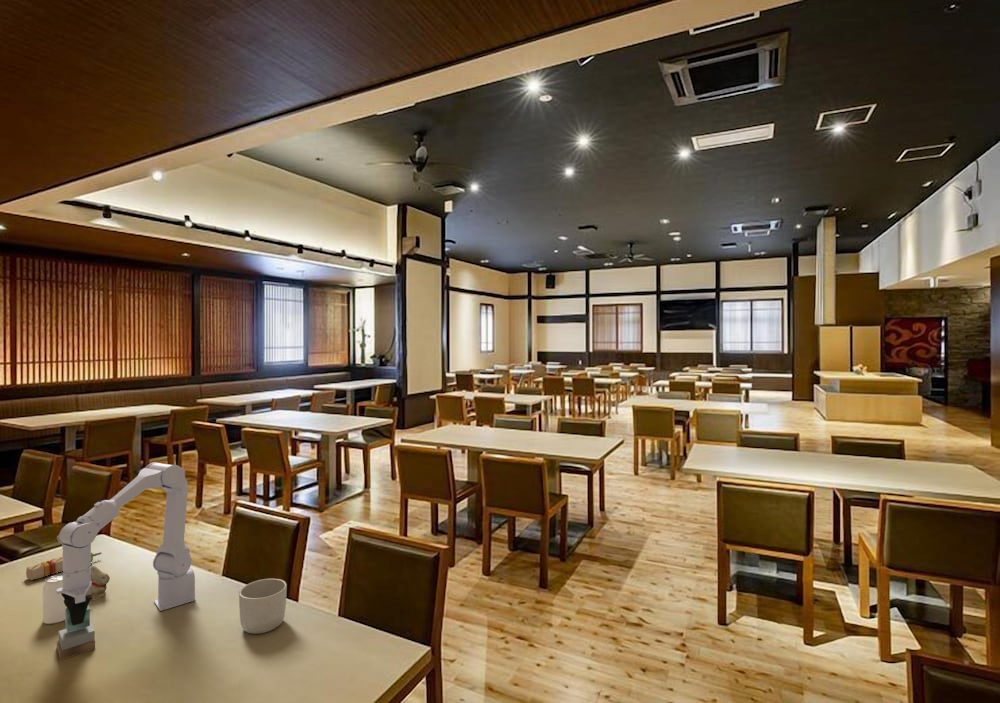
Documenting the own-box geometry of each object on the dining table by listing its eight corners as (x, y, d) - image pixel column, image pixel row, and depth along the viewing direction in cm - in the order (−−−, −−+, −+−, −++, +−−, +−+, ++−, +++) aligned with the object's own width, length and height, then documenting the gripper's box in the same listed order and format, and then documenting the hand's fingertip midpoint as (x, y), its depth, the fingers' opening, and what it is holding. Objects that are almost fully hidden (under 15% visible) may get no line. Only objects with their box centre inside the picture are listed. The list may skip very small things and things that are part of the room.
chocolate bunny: (97, 602, 157) (97, 569, 157) (72, 601, 158) (72, 569, 157) (111, 593, 163) (111, 562, 163) (87, 592, 163) (87, 561, 163)
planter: (293, 625, 146) (294, 588, 146) (248, 643, 137) (249, 603, 136) (275, 610, 154) (275, 574, 154) (231, 626, 145) (232, 588, 145)
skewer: (32, 583, 169) (32, 568, 169) (24, 579, 172) (24, 564, 172) (105, 561, 187) (105, 548, 187) (97, 557, 190) (97, 544, 190)
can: (54, 626, 144) (55, 584, 144) (36, 623, 145) (36, 581, 145) (77, 614, 150) (78, 574, 150) (60, 611, 151) (60, 571, 151)
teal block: (87, 619, 137) (87, 602, 137) (89, 625, 134) (89, 608, 134) (65, 625, 134) (65, 608, 134) (67, 632, 130) (67, 615, 130)
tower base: (90, 639, 138) (90, 630, 138) (95, 650, 134) (95, 640, 133) (56, 650, 133) (56, 640, 133) (60, 661, 128) (60, 652, 128)
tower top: (89, 630, 138) (90, 621, 138) (94, 640, 134) (94, 630, 134) (58, 640, 133) (58, 630, 133) (62, 650, 129) (62, 640, 129)
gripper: (53, 564, 136) (53, 615, 136) (59, 582, 125) (59, 637, 126) (87, 557, 141) (87, 605, 141) (95, 574, 130) (95, 626, 131)
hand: (76, 620), depth 133 cm, fingers closed on teal block, 4 cm apart
